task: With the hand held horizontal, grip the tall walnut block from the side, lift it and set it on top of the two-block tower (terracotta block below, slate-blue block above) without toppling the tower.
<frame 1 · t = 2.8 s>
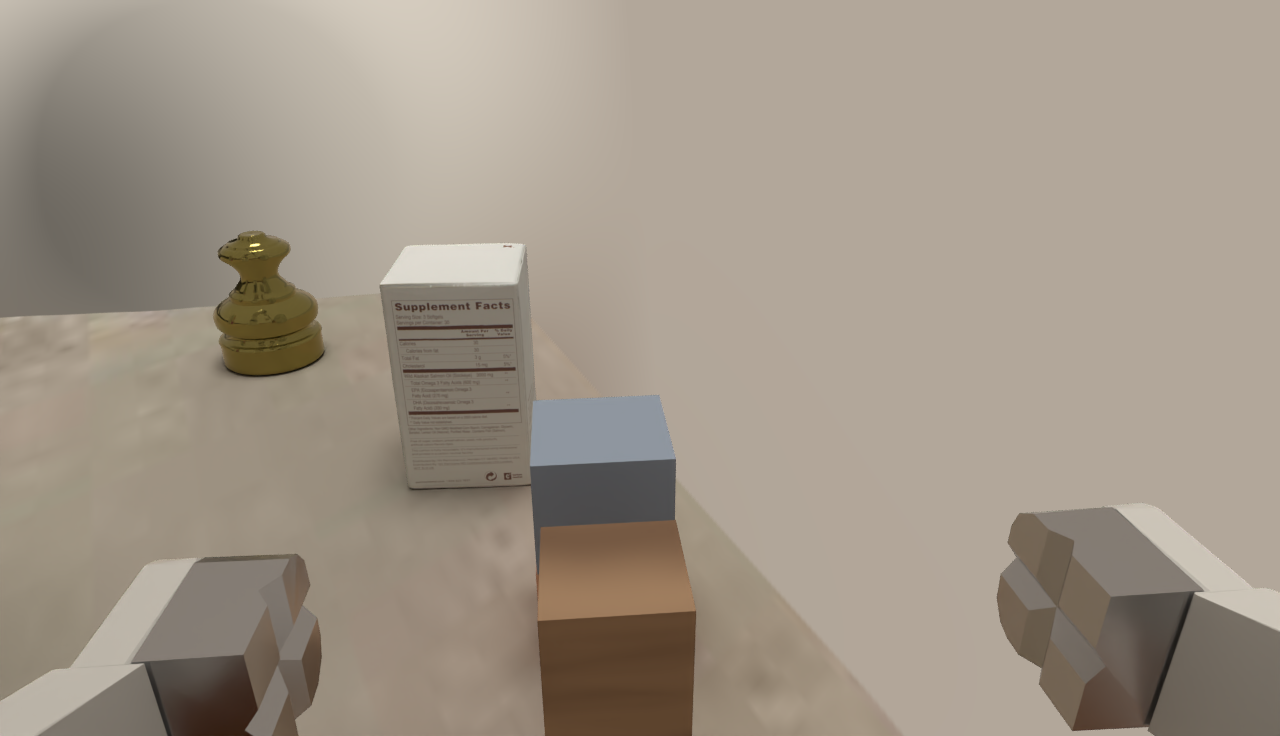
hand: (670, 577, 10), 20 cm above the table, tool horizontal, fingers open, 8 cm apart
slate block: (602, 529, 36), point 5 cm above the table, touching terracotta block
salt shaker: (276, 360, 65), on the table
supplement box: (477, 460, 51), on the table
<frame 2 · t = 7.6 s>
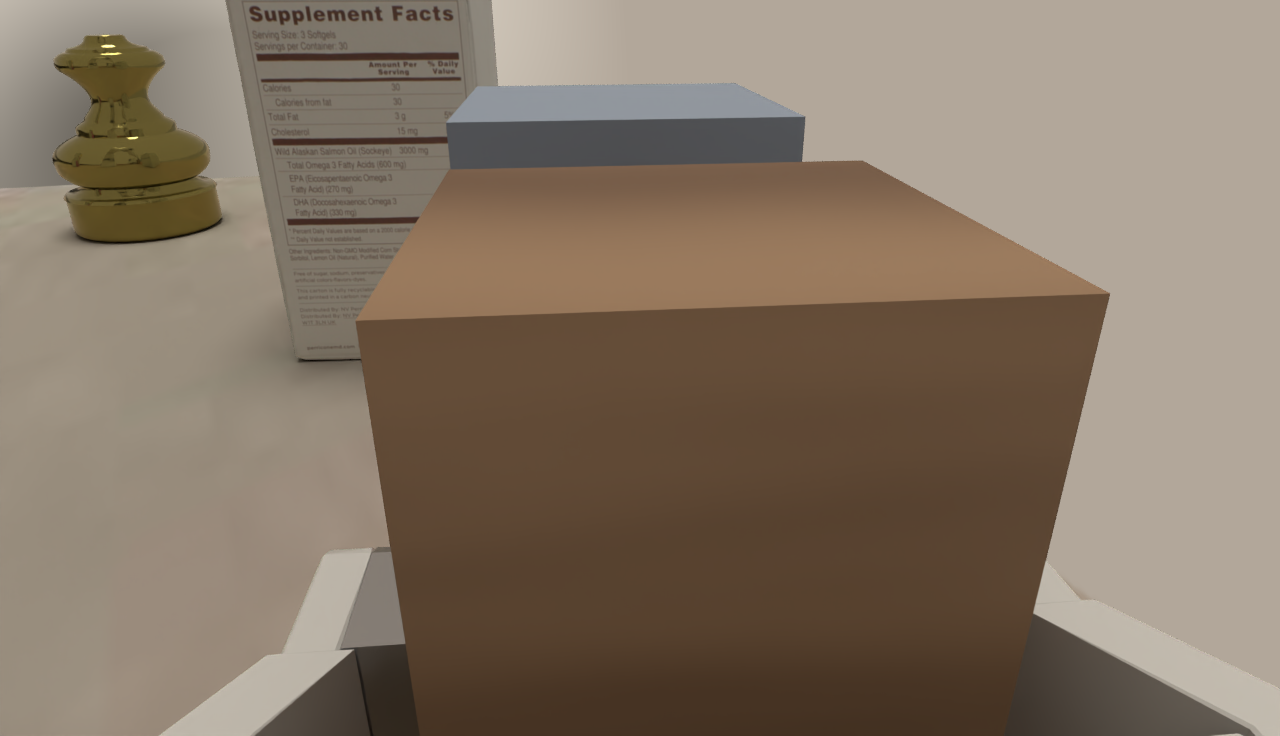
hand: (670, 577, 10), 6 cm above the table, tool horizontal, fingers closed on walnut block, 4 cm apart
slate block: (620, 351, 17), point 5 cm above the table, touching terracotta block
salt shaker: (153, 230, 47), on the table
supplement box: (416, 328, 33), on the table
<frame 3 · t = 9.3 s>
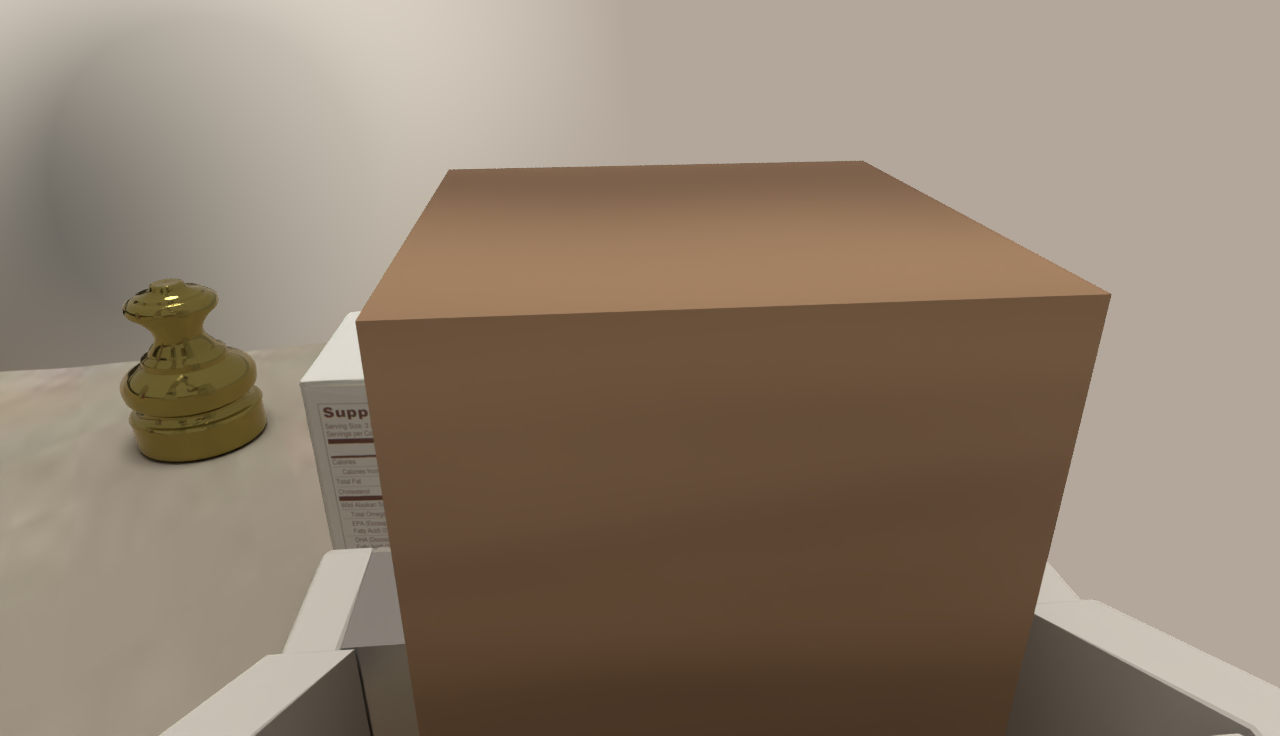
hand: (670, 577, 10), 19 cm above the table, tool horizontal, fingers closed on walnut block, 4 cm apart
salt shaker: (205, 437, 52), on the table
supplement box: (451, 596, 38), on the table
when the fingers open (16 cm above the table, at t = 11.4 s): walnut block stays where it is, resting on slate block.
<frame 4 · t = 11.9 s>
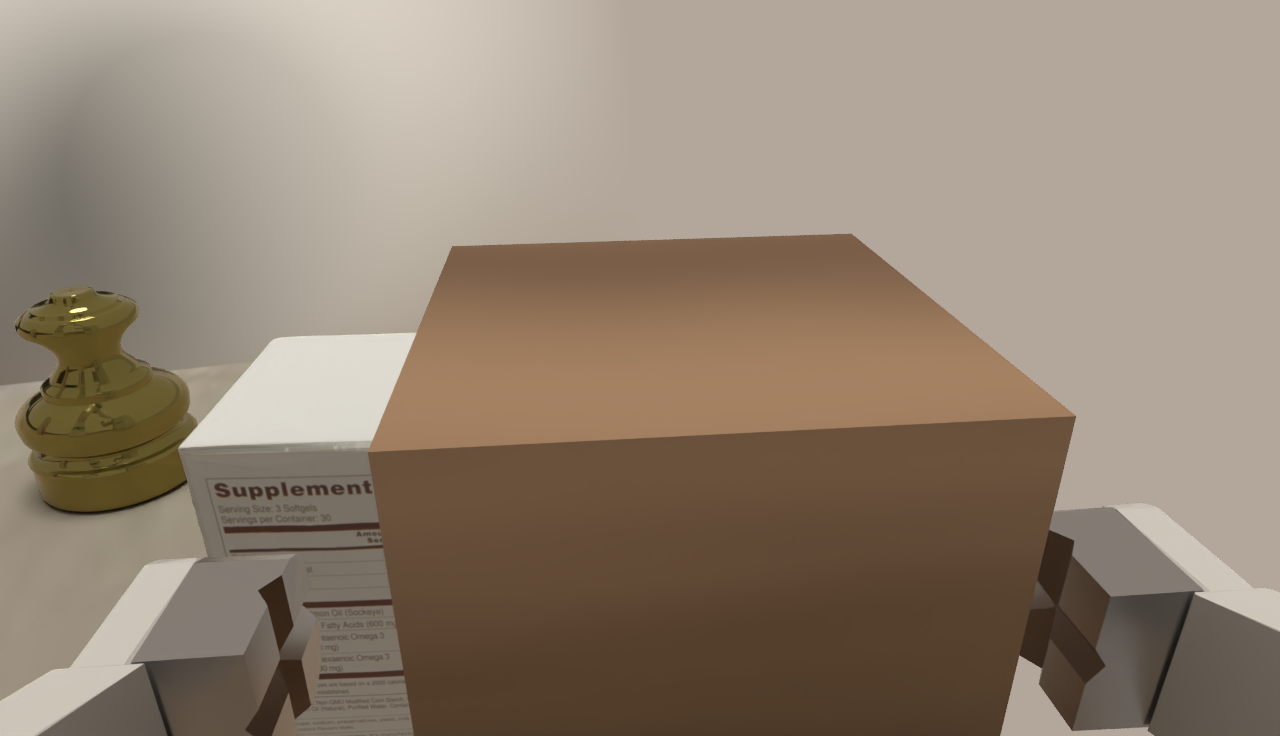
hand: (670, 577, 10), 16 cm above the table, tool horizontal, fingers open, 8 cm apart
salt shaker: (127, 478, 43), on the table
supplement box: (412, 710, 29), on the table
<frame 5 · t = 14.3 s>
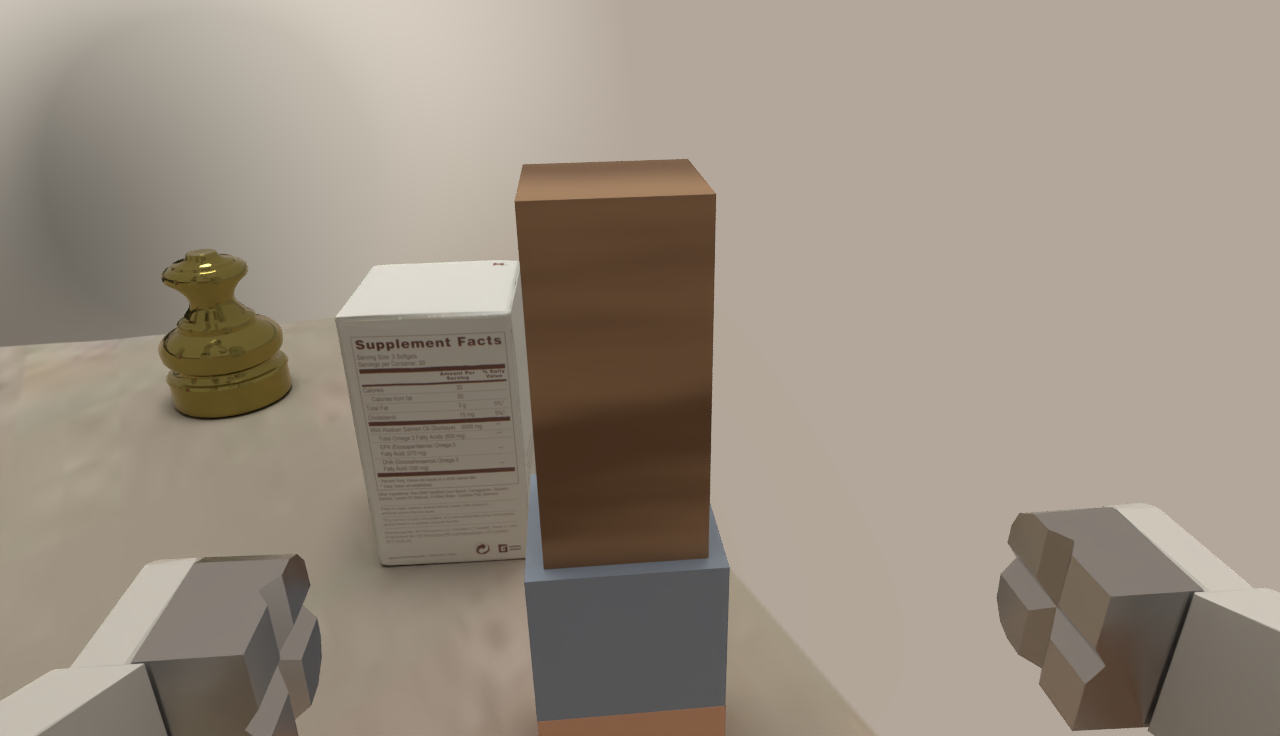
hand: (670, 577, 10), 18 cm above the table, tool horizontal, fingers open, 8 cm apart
slate block: (625, 646, 27), point 5 cm above the table, touching terracotta block, walnut block
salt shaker: (235, 398, 56), on the table
walnut block: (621, 516, 25), point 10 cm above the table, touching slate block
supplement box: (466, 524, 42), on the table
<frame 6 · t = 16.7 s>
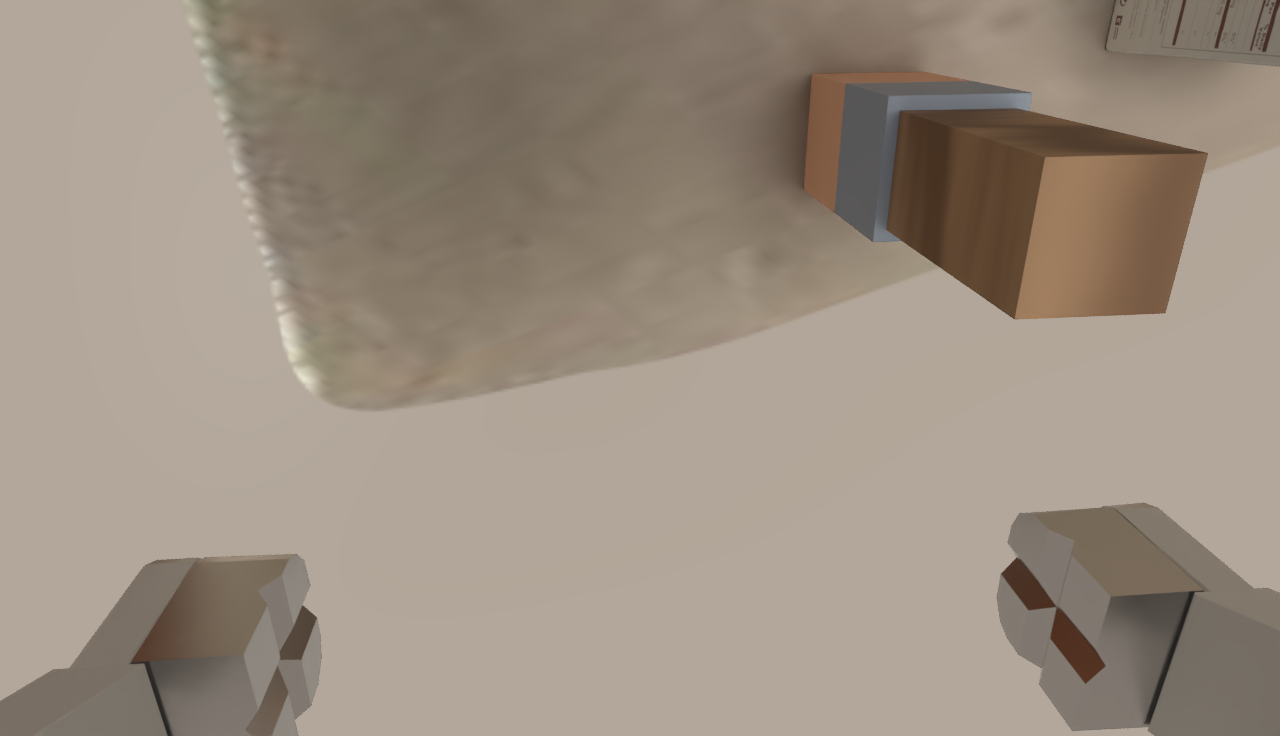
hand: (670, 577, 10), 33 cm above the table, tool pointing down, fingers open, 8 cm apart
slate block: (901, 148, 36), point 5 cm above the table, touching terracotta block, walnut block
walnut block: (949, 170, 32), point 10 cm above the table, touching slate block
terracotta block: (862, 131, 41), on the table, touching slate block
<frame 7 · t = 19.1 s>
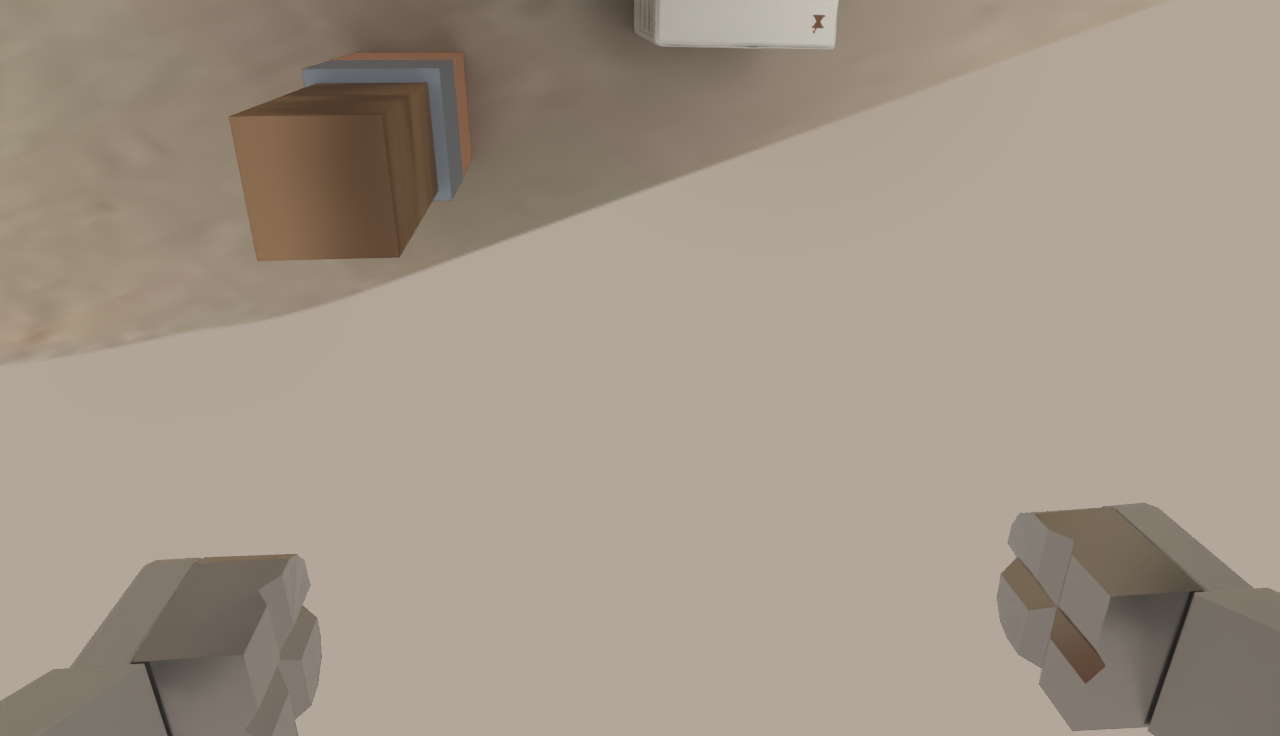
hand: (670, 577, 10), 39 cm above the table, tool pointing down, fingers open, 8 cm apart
slate block: (400, 121, 40), point 5 cm above the table, touching terracotta block, walnut block
walnut block: (379, 138, 35), point 10 cm above the table, touching slate block
terracotta block: (415, 107, 44), on the table, touching slate block
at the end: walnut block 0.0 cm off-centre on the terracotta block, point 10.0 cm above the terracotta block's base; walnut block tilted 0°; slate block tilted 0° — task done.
